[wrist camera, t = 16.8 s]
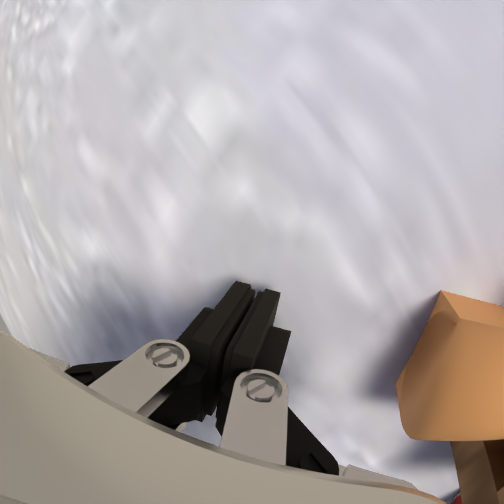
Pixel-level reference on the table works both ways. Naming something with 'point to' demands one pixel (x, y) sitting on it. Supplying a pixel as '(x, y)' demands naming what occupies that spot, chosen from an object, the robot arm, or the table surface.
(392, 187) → the table surface
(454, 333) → the dowel
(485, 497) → the block
